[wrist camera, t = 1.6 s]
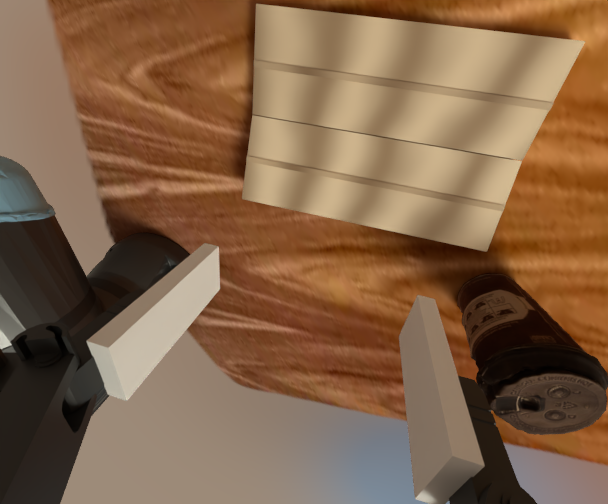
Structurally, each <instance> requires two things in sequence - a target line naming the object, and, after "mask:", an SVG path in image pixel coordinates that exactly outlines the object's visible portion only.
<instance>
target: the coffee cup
mask: <svg viewBox="0 0 608 504" xmlns="http://www.w3.org/2000/svg"><path fill="white" fill-rule="evenodd" d="M458 306H459V307H460V310H461V312H462V313H463V316H462V324H463V326H464V328H465V331H466V335H467V340H468V343H469V347H470V352H471V358H472V359H474V360H475V361H476V365H477V367H478V368H479V371H478V373H477V377H476V380H477V384H478V386H479V387H480V389H481V390H482V391H483V393H484V394H485V396H486V398H487V401H488V404H489V406H490V409H491V410H493V411H494V413H495V414H496V416H499V417H500V418H502V419H503V420H505V421H506V422H508V423H510V424H511V425H512V426H513V427H515V428H516V429H518V430H523V431H524V432H527V433H529V434H540V435H545V434H565V433H569V432H574V431H577V430H580V429H582V428H585V427H588V426H590V425H592V424H593V423H594V422H595V421H596V420H598V419H599V418H600V417H601V415H602V414H603V413H604V412H605V411H606V405H607V400H606V399H607V397H606V389H607V387H608V375H607V372H606V371H605V370H604V368H603V367H602V366H601V364H600V362H599V361H598V359H597V358H595V357H594V356H591V355H589V354H587V353H586V352H585V351H584V350H583V349H582V348H581V347H580V346H579V345H578V344H577V343H576V342H575V341H574V339H573V338H572V337H571V336H570V335H569V334H568V333H567V332H566V331H564V330H563V328H562V327H561V326H560V325H559V324H558V323H557V322H556V321H554V320H553V318H552V317H551V316H550V315H549V314H548V313H547V312H546V311H545V310H544V309H543V308H542V307H541V306H540V305H539V304H538V303H537V302H536V301H535V300H534V299H533V298H532V297H531V296H530V295H529V294H528V293H527V292H526V291H525V290H523V289H522V288H521V287H520V286H519V285H518V284H517V283H516V282H515V281H514V280H512V279H511V278H509V277H507V276H506V275H503V274H485V275H481V276H478V277H476V278H474V279H472V280H470V281H469V282H467V283H466V284H465V285H464V286H463V287H462V288H461V290H460V292H459V294H458Z"/></svg>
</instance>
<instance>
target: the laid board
mask: <svg viewBox="0 0 608 504" xmlns="http://www.w3.org/2000/svg"><path fill="white" fill-rule="evenodd" d="M584 43H585V41H578V40H569V39H561V38H552V37H543V36H534V35H526V34H517V33H508V32H499V31H491V30H482V29H473V28H465V27H456V26H447V25H438V24H430V23H421V22H412V21H403V20H395V19H386V18H377V17H368V16H360V15H351V14H342V13H334V12H325V11H316V10H307V9H299V8H290V7H281V6H272V5H264V4H256V19H255V50H254V81H253V112H252V114H254V115H259V116H265V117H271V118H277V119H283V120H289V121H294V122H300V123H306V124H312V125H318V126H324V127H329V128H335V129H341V130H347V131H353V132H359V133H364V134H370V135H376V136H382V137H388V138H394V139H399V140H405V141H411V142H417V143H423V144H429V145H434V146H440V147H446V148H452V149H458V150H464V151H469V152H475V153H481V154H487V155H493V156H499V157H504V158H510V159H516V160H523V158H524V156H525V155H526V153H527V151H528V149H529V147H530V145H531V143H532V141H533V139H534V138H535V136H536V134H537V132H538V130H539V128H540V126H541V124H542V122H543V121H544V119H545V117H546V115H547V113H548V111H550V109H551V107H552V105H553V102H554V100H555V98H556V96H557V94H558V92H559V90H560V88H561V87H562V85H563V83H564V81H565V79H566V77H567V75H568V73H569V71H570V69H571V68H572V66H573V64H574V62H575V60H576V58H577V56H578V54H579V52H580V51H581V49H582V47H583V45H584Z"/></svg>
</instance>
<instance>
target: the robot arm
mask: <svg viewBox="0 0 608 504" xmlns="http://www.w3.org/2000/svg"><path fill="white" fill-rule="evenodd" d="M219 290H220V273H219V246H215V245H211V244H207V243H204V244H203V245H202V246H201V247H199V248H198V249H197V250H196V251H195V252H193V253H192V254H191V255H189V254H188V253H187V252H186V251H185V250H184V249H182V248H181V247H180V246H178V245H177V244H175V243H174V242H172V241H170V240H168V239H166V238H164V237H162V236H159V235H155V234H151V233H136V234H133V235H130V236H128V237H126V238H124V239H123V240H121V241H119V242H117V243H116V244H114V245H113V246H112V247H111V248H110V249H109V251H108V252H107V253H106V255H105V258H104V259H103V260H102V261H101V262H99V263H98V264H97V265H96V266H95V268H94V269H93V270H92V271H91V272H90V273H89V274H88V275H87V277H86V275H85V273H84V271H83V269H82V267H81V265H80V263H79V261H78V260H77V258H76V256H75V254H74V252H73V250H72V248H71V246H70V244H69V242H68V240H67V238H66V237H65V235H64V233H63V231H62V229H61V227H60V225H59V223H58V221H57V219H56V217H55V212H54V209H53V207H52V206H51V205H49V204H48V203H47V202H46V200H45V198H44V197H43V195H42V193H41V192H40V190H39V188H38V187H37V185H36V183H35V182H34V180H33V178H32V176H31V175H30V174H29V172H28V171H27V170H26V169H25V168H24V167H23V166H21V165H20V164H18V163H17V162H15V161H13V160H11V159H8V158H5V157H2V156H0V504H60V502H61V499H62V497H63V494H64V491H65V488H66V485H67V483H68V480H69V477H70V474H71V471H72V468H73V466H74V463H75V460H76V457H77V455H78V452H79V449H80V446H81V443H82V440H83V437H84V434H85V432H86V429H87V426H88V423H89V421H90V418H91V416H92V415H93V414H94V412H95V411H96V410H97V409H98V408H99V407H100V406H101V404H102V403H103V402H104V401H105V400H106V399H107V398H108V397H109V395H111V396H114V397H116V398H119V399H123V400H125V401H127V400H128V399H129V398H130V397H131V395H132V394H133V393H134V392H135V391H136V389H137V388H138V387H139V386H140V385H141V383H142V382H143V381H144V380H145V379H146V377H147V376H148V375H149V374H150V373H151V371H152V370H153V369H154V368H155V367H156V365H157V364H158V363H159V362H160V361H161V359H162V358H163V357H164V356H165V355H166V353H167V352H168V351H169V350H170V348H171V347H172V346H173V345H174V344H175V342H176V341H177V340H178V339H179V338H180V337H181V335H182V334H183V333H184V332H185V330H186V329H187V328H188V327H189V326H190V324H191V323H192V322H193V321H194V320H195V318H196V317H197V316H198V315H199V314H200V312H201V311H202V310H203V309H204V308H205V306H206V305H207V304H208V303H209V302H210V300H211V299H212V298H213V297H214V296H215V294H216V293H217V292H218V291H219ZM399 342H400V352H401V362H402V372H403V382H404V392H405V403H406V413H407V423H408V433H409V443H410V453H411V462H412V473H413V483H414V493H415V499H417V500H420V501H423V502H426V503H429V504H446V502H447V501H450V504H537V503H536V502H535V500H534V499H533V498H532V497H531V496H530V495H529V494H528V493H527V492H526V491H525V490H524V489H522V488H521V487H520V485H519V483H518V481H517V479H516V476H515V473H514V471H513V468H512V465H511V463H510V460H509V457H508V454H507V452H506V449H505V446H504V444H503V441H502V438H501V436H500V433H499V430H498V428H497V427H496V422H495V420H494V417H493V414H491V409H490V406H489V404H488V401H487V398H486V396H485V394H484V393H483V391H482V390H481V389H480V387H479V386H478V384H477V383H476V382H475V380H472V379H468V378H465V377H461V376H458V375H457V372H456V368H455V365H454V362H453V358H452V355H451V352H450V348H449V345H448V342H447V338H446V335H445V332H444V328H443V325H442V322H441V318H440V315H439V312H438V308H437V305H436V302H435V299H432V298H428V297H424V296H420V295H417V297H416V300H415V302H414V304H413V306H412V309H411V311H410V313H409V315H408V317H407V320H406V322H405V324H404V326H403V329H402V331H401V333H400V335H399Z"/></svg>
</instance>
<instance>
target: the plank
mask: <svg viewBox="0 0 608 504" xmlns="http://www.w3.org/2000/svg"><path fill="white" fill-rule="evenodd" d="M246 161H247V162H246V170H245V178H244V186H243V194H242V199H245V200H249V201H254V202H258V203H263V204H268V205H272V206H277V207H282V208H286V209H291V210H295V211H300V212H305V213H309V214H314V215H319V216H323V217H328V218H332V219H337V220H342V221H346V222H351V223H356V224H360V225H365V226H370V227H374V228H379V229H383V230H388V231H393V232H397V233H402V234H407V235H411V236H416V237H420V238H425V239H430V240H434V241H439V242H444V243H448V244H453V245H457V246H462V247H467V248H471V249H476V250H481V251H485V252H487V250H488V248H489V245H490V242H491V240H492V237H493V235H494V232H495V230H496V227H497V224H498V222H499V219H500V217H501V214H502V212H503V211H504V208H505V204H506V201H507V199H508V196H509V193H510V191H511V188H512V186H513V183H514V181H515V178H516V175H517V173H518V170H519V168H520V165H521V162H522V161H516V160H510V159H505V158H499V157H493V156H487V155H481V154H475V153H470V152H464V151H458V150H452V149H446V148H441V147H435V146H429V145H423V144H417V143H411V142H406V141H400V140H394V139H388V138H382V137H377V136H371V135H365V134H359V133H353V132H348V131H342V130H336V129H330V128H324V127H318V126H313V125H307V124H301V123H295V122H289V121H284V120H278V119H272V118H266V117H260V116H254V115H252V122H251V130H250V138H249V146H248V154H247V159H246Z"/></svg>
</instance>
